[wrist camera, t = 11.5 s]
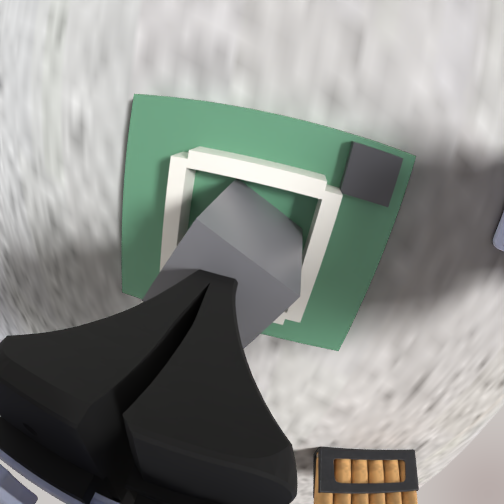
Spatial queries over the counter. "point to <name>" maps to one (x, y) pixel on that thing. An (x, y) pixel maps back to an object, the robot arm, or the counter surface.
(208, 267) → the plug
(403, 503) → the ammunition clip
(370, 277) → the board
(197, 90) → the counter surface
